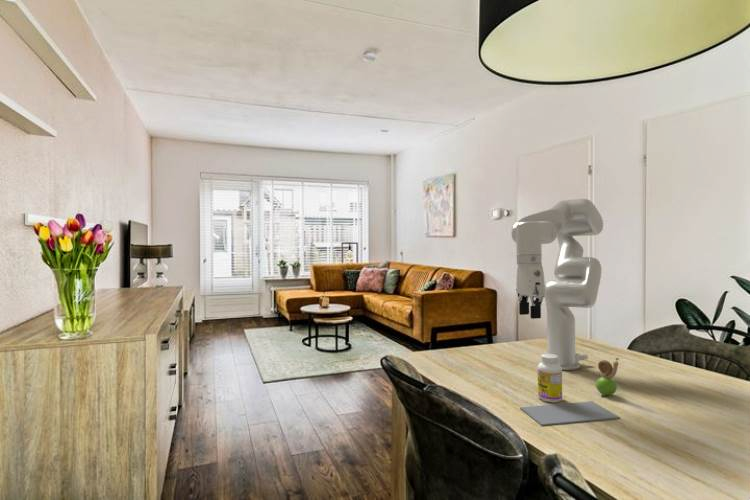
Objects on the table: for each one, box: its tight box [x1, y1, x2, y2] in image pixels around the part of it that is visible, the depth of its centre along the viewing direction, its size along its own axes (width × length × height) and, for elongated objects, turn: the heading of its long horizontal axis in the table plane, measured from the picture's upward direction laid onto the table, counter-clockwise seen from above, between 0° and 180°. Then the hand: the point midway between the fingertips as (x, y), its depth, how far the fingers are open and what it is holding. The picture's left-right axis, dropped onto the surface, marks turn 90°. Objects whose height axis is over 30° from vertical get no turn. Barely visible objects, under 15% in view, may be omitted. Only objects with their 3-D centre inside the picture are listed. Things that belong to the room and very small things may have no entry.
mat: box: [519, 400, 621, 427], centre depth 113 cm, size 22×11×1 cm, turn 98°
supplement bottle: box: [537, 353, 563, 403], centre depth 124 cm, size 7×7×13 cm
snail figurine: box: [595, 357, 619, 397], centre depth 125 cm, size 5×6×12 cm
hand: (529, 315), depth 134 cm, fingers open, 6 cm apart
